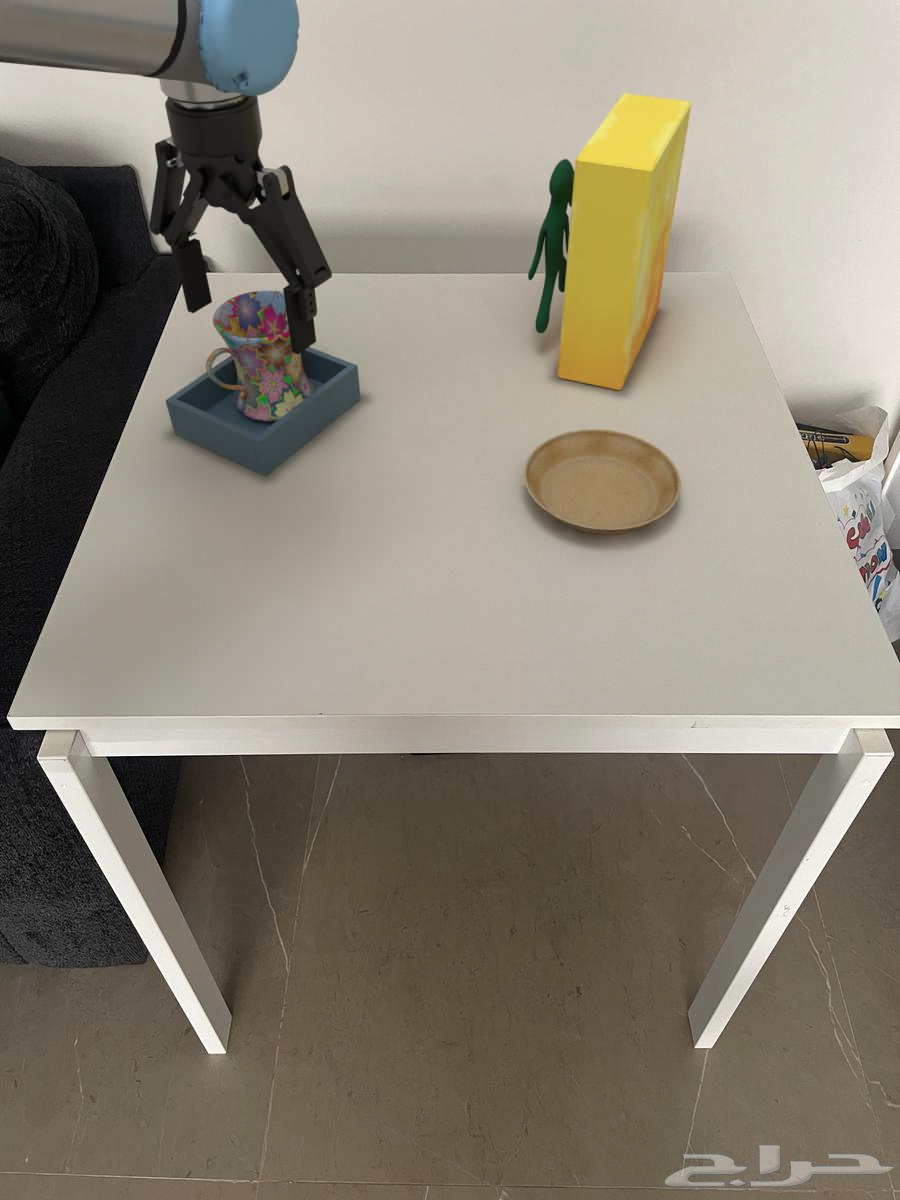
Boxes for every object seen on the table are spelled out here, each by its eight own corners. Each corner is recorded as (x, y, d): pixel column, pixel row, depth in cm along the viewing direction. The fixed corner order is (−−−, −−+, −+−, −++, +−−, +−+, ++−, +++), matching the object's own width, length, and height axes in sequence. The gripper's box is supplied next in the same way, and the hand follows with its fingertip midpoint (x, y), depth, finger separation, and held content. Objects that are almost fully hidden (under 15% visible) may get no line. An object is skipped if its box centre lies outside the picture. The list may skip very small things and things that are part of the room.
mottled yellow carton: (558, 294, 117) (575, 86, 100) (657, 312, 114) (692, 100, 97) (513, 369, 106) (522, 150, 89) (620, 391, 103) (652, 168, 86)
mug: (278, 368, 106) (263, 280, 98) (337, 400, 101) (327, 310, 94) (194, 418, 99) (171, 328, 92) (252, 454, 95) (234, 363, 87)
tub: (174, 434, 99) (165, 400, 96) (272, 363, 108) (267, 330, 104) (265, 476, 94) (258, 442, 91) (360, 399, 103) (357, 365, 100)
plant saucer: (634, 437, 98) (638, 416, 96) (704, 528, 88) (709, 507, 86) (500, 467, 95) (501, 446, 93) (558, 565, 85) (560, 544, 83)
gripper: (359, 109, 75) (375, 346, 90) (136, 53, 84) (185, 276, 100) (298, 140, 70) (326, 384, 86) (70, 77, 80) (132, 306, 95)
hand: (250, 326), depth 93 cm, fingers open, 13 cm apart
